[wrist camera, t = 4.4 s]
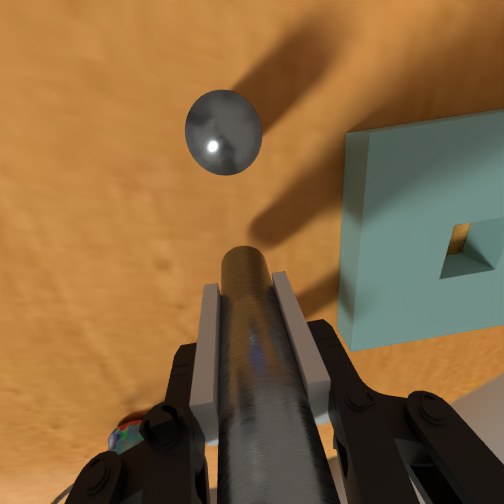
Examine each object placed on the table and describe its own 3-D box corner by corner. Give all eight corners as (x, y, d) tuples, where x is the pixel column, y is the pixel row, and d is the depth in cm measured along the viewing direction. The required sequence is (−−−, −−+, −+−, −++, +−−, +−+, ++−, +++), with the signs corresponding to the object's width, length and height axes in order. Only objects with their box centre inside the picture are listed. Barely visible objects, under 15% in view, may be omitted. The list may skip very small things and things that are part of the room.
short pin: (194, 109, 14) (175, 96, 9) (246, 101, 14) (257, 84, 9) (206, 164, 16) (195, 180, 11) (253, 157, 16) (265, 169, 11)
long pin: (217, 250, 16) (172, 1070, 2) (262, 242, 16) (512, 978, 2) (225, 286, 18) (233, 903, 4) (267, 279, 18) (432, 854, 4)
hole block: (345, 132, 16) (369, 133, 13) (601, 93, 16) (675, 85, 13) (337, 327, 24) (350, 351, 21) (505, 298, 24) (539, 318, 22)
